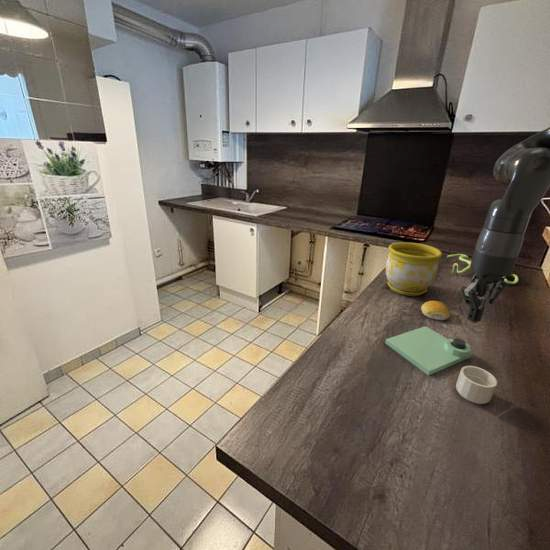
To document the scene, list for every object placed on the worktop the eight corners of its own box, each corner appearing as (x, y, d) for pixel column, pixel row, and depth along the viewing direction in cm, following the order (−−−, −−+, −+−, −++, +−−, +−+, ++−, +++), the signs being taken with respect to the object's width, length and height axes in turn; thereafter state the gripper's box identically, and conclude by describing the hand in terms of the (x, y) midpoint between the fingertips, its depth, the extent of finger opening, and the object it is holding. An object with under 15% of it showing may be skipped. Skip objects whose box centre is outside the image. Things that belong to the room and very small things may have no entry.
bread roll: (445, 309, 99) (448, 299, 97) (450, 323, 91) (453, 312, 90) (419, 305, 102) (421, 295, 100) (421, 318, 94) (424, 307, 92)
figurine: (445, 261, 144) (448, 250, 142) (512, 272, 131) (516, 260, 129) (443, 273, 129) (447, 261, 127) (519, 287, 117) (523, 274, 115)
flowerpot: (377, 278, 123) (383, 241, 116) (421, 280, 121) (430, 243, 115) (388, 298, 106) (396, 255, 100) (439, 301, 105) (451, 258, 98)
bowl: (467, 379, 69) (473, 362, 67) (496, 399, 63) (503, 381, 61) (448, 388, 66) (454, 370, 64) (477, 409, 61) (484, 391, 59)
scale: (425, 329, 88) (427, 321, 87) (472, 357, 76) (476, 348, 75) (385, 343, 81) (386, 334, 80) (429, 376, 69) (432, 366, 68)
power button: (456, 342, 78) (457, 337, 77) (466, 347, 75) (468, 343, 75) (449, 344, 77) (450, 339, 76) (459, 350, 74) (461, 345, 74)
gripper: (495, 260, 56) (470, 335, 63) (534, 251, 61) (507, 322, 68) (458, 248, 62) (439, 318, 69) (496, 242, 67) (475, 307, 74)
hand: (473, 320), depth 68 cm, fingers closed
